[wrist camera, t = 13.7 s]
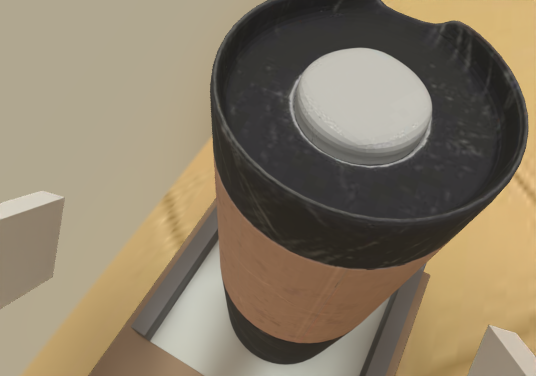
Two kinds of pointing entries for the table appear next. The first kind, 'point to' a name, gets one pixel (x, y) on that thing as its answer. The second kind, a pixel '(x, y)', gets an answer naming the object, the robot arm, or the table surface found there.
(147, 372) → the dock
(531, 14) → the table surface
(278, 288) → the travel mug
